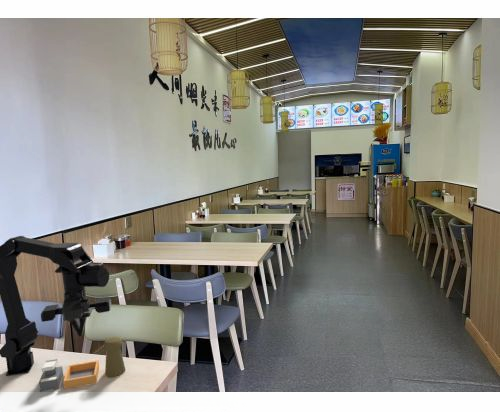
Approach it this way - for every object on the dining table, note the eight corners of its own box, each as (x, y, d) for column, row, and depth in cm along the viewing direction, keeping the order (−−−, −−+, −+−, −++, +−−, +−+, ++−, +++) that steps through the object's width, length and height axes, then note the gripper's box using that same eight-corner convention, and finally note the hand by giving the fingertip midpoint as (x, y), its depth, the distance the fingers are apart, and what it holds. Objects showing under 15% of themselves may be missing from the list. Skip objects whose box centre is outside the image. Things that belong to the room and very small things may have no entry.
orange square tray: (64, 389, 111) (63, 381, 111) (69, 372, 120) (68, 365, 119) (96, 383, 114) (95, 375, 114) (99, 367, 122) (98, 360, 122)
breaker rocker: (41, 371, 110) (41, 367, 111) (46, 364, 116) (46, 360, 116) (53, 369, 111) (53, 365, 111) (57, 362, 117) (57, 358, 117)
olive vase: (119, 378, 116) (116, 344, 114) (101, 376, 117) (97, 343, 116) (129, 367, 122) (126, 334, 120) (111, 365, 123) (109, 333, 121)
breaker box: (39, 392, 110) (37, 376, 110) (45, 378, 117) (43, 363, 116) (58, 388, 112) (57, 373, 111) (63, 375, 119) (61, 360, 118)
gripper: (31, 300, 104) (39, 354, 106) (104, 290, 108) (111, 342, 110) (42, 287, 114) (49, 336, 116) (108, 278, 119) (114, 326, 121)
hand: (80, 335), depth 116 cm, fingers closed
